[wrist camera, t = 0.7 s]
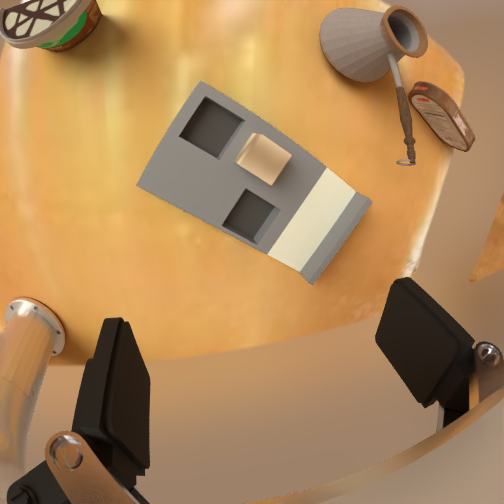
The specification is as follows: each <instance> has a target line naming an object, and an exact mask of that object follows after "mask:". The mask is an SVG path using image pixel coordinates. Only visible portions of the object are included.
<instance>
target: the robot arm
mask: <svg viewBox="0 0 504 504" xmlns="http://www.w3.org/2000/svg"><path fill="white" fill-rule="evenodd" d="M5 320H6V326H5V328H4V330H3V331H2V333H1V335H0V498H2V499H6V500H7V504H152V503H151V502H150V501H149V500H148V499H147V498H146V497H145V496H144V495H143V494H142V493H141V492H140V491H139V490H138V489H137V488H136V487H135V485H136V475H137V476H138V475H139V476H145V469H148V468H149V466H150V455H149V454H150V453H149V409H150V377H149V373H148V371H147V369H146V366H145V364H144V361H143V359H142V356H141V354H140V351H139V348H138V346H137V343H136V340H135V338H134V335H133V332H132V329H131V326H130V324H129V322H124V320H123V319H122V318H121V317H119V318H106V319H104V322H103V325H102V328H101V332H100V335H99V339H98V342H97V346H96V350H95V353H94V357H93V359H89V360H88V361H87V363H86V366H85V370H84V373H83V377H82V382H81V386H80V390H79V395H78V399H77V404H76V409H75V414H74V419H73V425H72V430H71V431H61V432H58V433H56V434H55V435H53V436H52V437H51V438H50V439H49V440H48V442H47V444H46V447H45V459H46V460H45V461H44V462H42V463H41V464H39V465H38V466H36V467H35V468H34V469H32V470H31V471H29V472H28V464H27V447H28V437H29V430H30V426H31V421H32V417H33V413H34V409H35V405H36V401H37V398H38V394H39V391H40V388H41V385H42V381H43V378H44V375H45V372H46V369H47V366H48V363H49V361H50V358H51V357H52V356H56V355H58V354H59V353H60V352H61V351H62V350H63V347H64V345H65V341H66V340H65V332H64V329H63V327H62V324H61V323H60V321H59V320H58V318H57V317H56V316H55V315H54V313H53V312H52V311H50V310H49V309H48V308H47V307H46V306H44V305H43V304H41V303H40V302H38V301H36V300H33V299H30V298H26V297H20V298H16V299H14V300H12V301H11V302H10V303H9V305H8V306H7V308H6V311H5ZM375 340H376V343H377V345H378V346H379V348H380V349H381V350H382V352H383V353H384V355H385V356H386V357H387V359H388V360H389V362H390V363H391V364H392V366H393V367H394V369H395V370H396V371H397V373H398V374H399V376H400V377H401V379H402V380H403V381H404V383H405V384H406V386H407V387H408V389H409V390H410V392H411V393H412V395H413V396H414V397H415V399H416V400H417V402H419V403H422V405H423V407H424V408H427V407H428V406H430V405H432V404H434V403H435V401H436V400H437V401H438V402H439V408H438V419H437V428H436V433H435V434H433V435H432V436H430V437H429V438H427V439H425V440H423V441H422V442H420V443H418V444H416V445H414V446H413V447H411V448H409V449H407V450H405V451H403V452H401V453H399V454H397V455H395V456H393V457H391V458H389V459H387V460H385V461H383V462H381V463H378V464H376V465H374V466H372V467H369V468H367V469H365V470H362V471H360V472H357V473H355V474H352V475H350V476H347V477H344V478H342V479H339V480H336V481H333V482H330V483H327V484H324V485H321V486H318V487H314V488H311V489H308V490H304V491H301V492H297V493H293V494H289V495H285V496H281V497H276V498H271V499H266V500H261V501H256V502H250V503H244V504H504V359H503V355H502V353H501V351H500V350H499V348H498V347H496V346H495V345H494V344H492V343H489V342H486V341H482V342H479V343H478V344H476V346H475V348H474V349H472V345H473V343H474V342H475V340H474V339H473V338H472V337H471V336H470V335H469V334H468V333H467V332H466V331H465V329H464V328H462V326H461V325H459V323H457V321H456V320H455V319H454V318H453V317H452V316H450V314H449V313H447V312H446V311H445V310H444V309H443V308H442V307H441V306H440V305H439V304H438V303H437V302H436V301H435V300H434V299H433V298H432V297H431V296H429V294H427V293H426V292H425V291H424V290H423V289H422V288H421V287H420V286H419V285H418V284H417V283H416V282H414V281H413V280H412V279H411V278H409V277H405V278H400V279H396V280H395V281H394V282H393V284H392V285H391V287H390V291H389V294H388V297H387V301H386V304H385V307H384V311H383V314H382V317H381V320H380V323H379V326H378V329H377V332H376V335H375Z"/></svg>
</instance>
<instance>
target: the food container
mask: <svg viewBox="0 0 504 504" xmlns="http://www.w3.org/2000/svg"><path fill="white" fill-rule="evenodd" d="M101 15H102V13H101V11H100V9H99V6H98V4H97V2H96V0H30V1H28V2H25V3H23V4H20V5H17V6H14V7H12V8H9V9H4V8H0V33H1V35H2V37H3V38H4V39H5V40H6V41H7V42H8V43H9V44H10V45H11V46H13V47H15V48H19V49H27V48H33V47H39V48H42V49H46V50H49V51H56V52H59V51H64V50H68V49H70V48H72V47H74V46H76V45H78V44H79V43H81V42H82V41H83V40H84V39H86V38H87V37H88V36H89V35H90V34H91V32H92V31H93V30H94V29H95V27H96V26H97V24H98V22H99V20H100V18H101Z"/></svg>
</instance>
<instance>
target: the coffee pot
mask: <svg viewBox="0 0 504 504" xmlns="http://www.w3.org/2000/svg"><path fill="white" fill-rule="evenodd" d="M319 35H320V44H321V47H322V50H323V53H324V55H325V56H326V58H327V60H328V61H329V63H330V64H331V65H332V66H333V67H334V68H335V69H336V70H337V71H339V72H340V73H341V74H343V75H344V76H346V77H348V78H350V79H353V80H355V81H360V82H374V81H376V80H378V79H380V78H382V77H383V76H384V75H385V74H386V73H387V72H388V71H389V70H390V69H391V70H392V73H393V77H394V81H395V84H396V92H397V98H398V105H399V112H400V120H401V123H402V126H403V130H404V133H405V136H406V138H405V139H404V143H405V144H406V145H407V149H408V151H407V155H408V159H401V160H398V161H397V164H399V165H403V166H411V165H415V164H416V162H415V151H414V146H413V145H414V143H415V139H414V138H413V137H412V118H411V114H410V110H409V106H408V102H407V98H406V95H405V91H404V88H403V86H402V81H401V77H400V73H399V68H398V64H397V62H398V61H399V60H400V59H401V58H402V57H403V56H404V55H407V56H410V57H416V58H418V57H420V56H422V55H423V54H424V53H425V52H426V50H427V47H428V39H427V34H426V31H425V29H424V26H423V24H422V23H421V21H420V20H419V19H418V17H417V16H416V15H415V14H414V13H413V12H411V11H410V10H408V9H407V8H405V7H402V6H392V7H390V8H389V9H387V11H386V12H385V13H381V12H375V11H369V10H362V9H355V8H340V9H337V10H333V11H332V12H331V13H329V14H328V15H327V16H326V17H325V19H324V20H323V22H322V24H321V29H320V34H319ZM401 161H410V163H413V164H401V163H399V162H401Z"/></svg>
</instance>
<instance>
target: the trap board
mask: <svg viewBox="0 0 504 504" xmlns="http://www.w3.org/2000/svg"><path fill="white" fill-rule="evenodd" d="M252 133H257V134H262V135H264V136H265V137H267V138H268V139H270V140H271V141H273V142H274V143H275V144H277V145H278V146H280V147H281V148H283V149H284V150H285V151H287V152H288V153H290V154H291V155H292V156H291V157H290V159H289V160H288V162H287V163H286V165H285V166H284V168H283V169H282V171H281V172H280V174H279V175H278V177H277V178H276V180H275V181H274V183H273V184H272V185H270V184H268V183H267V182H265V181H263V180H262V179H260V178H259V177H257V176H256V175H254V174H252V173H251V172H249V171H248V170H246V169H244V168H243V167H241V166H240V165H238V164H237V163H236V162H234V160H235V159H236V157H237V156H238V154H239V153H240V151H241V150H242V148H243V147H244V145H245V144H246V142H247V141H248V139H249V138H250V136H251V135H252ZM136 186H138V187H140V188H142V189H144V190H145V191H147V192H149V193H151V194H153V195H155V196H157V197H159V198H161V199H163V200H165V201H166V202H168V203H170V204H172V205H174V206H176V207H178V208H180V209H182V210H184V211H186V212H187V213H189V214H191V215H193V216H195V217H197V218H199V219H201V220H203V221H205V222H206V223H208V224H210V225H212V226H214V227H216V228H218V229H220V230H222V231H223V232H225V233H227V234H229V235H231V236H233V237H235V238H237V239H239V240H240V241H242V242H244V243H246V244H248V245H250V246H252V247H254V248H256V249H257V250H259V251H261V252H263V253H265V254H267V255H269V256H271V257H273V258H274V259H276V260H278V261H280V262H282V263H284V264H286V265H288V266H289V267H291V268H293V269H295V270H297V271H299V272H300V273H301V274H302V276H303V277H304V278H305V280H306V281H307V282H308V283H309V284H311V285H313V284H314V283H315V282H316V281H317V279H318V278H319V277H320V275H321V274H322V273H323V271H324V270H325V269H326V267H327V266H328V264H329V263H330V262H331V260H332V259H333V258H334V256H335V255H336V254H337V252H338V251H339V249H340V248H341V247H342V245H343V244H344V242H345V241H346V240H347V238H348V237H349V235H350V234H351V233H352V231H353V230H354V228H355V227H356V225H357V224H358V222H359V221H360V220H361V218H362V217H363V215H364V214H365V212H366V211H367V209H368V208H369V206H370V205H371V203H372V201H371V200H370V199H369V198H368V197H366V196H364V195H362V194H359V193H357V192H356V191H355V190H353V189H352V188H351V187H350V186H349V185H348V184H346V183H345V182H344V181H343V180H342V179H340V178H339V177H338V176H337V175H336V174H334V173H333V172H332V171H331V170H330V169H328V168H327V167H326V166H325V165H323V164H322V163H321V162H320V161H318V160H317V159H316V158H315V157H313V156H312V155H311V154H309V153H308V152H307V151H306V150H304V149H303V148H302V147H300V146H299V145H298V144H296V143H295V142H294V141H292V140H291V139H289V138H288V137H287V136H285V135H284V134H283V133H281V132H280V131H278V130H277V129H276V128H274V127H273V126H271V125H270V124H268V123H267V122H266V121H264V120H263V119H261V118H260V117H258V116H257V115H255V114H254V113H252V112H251V111H249V110H248V109H246V108H245V107H243V106H242V105H240V104H238V103H237V102H235V101H234V100H232V99H231V98H229V97H227V96H226V95H224V94H222V93H221V92H219V91H217V90H216V89H214V88H212V87H211V86H209V85H207V84H206V83H204V82H202V81H200V82H199V83H198V85H197V86H196V88H195V89H194V90H193V92H192V93H191V95H190V96H189V98H188V99H187V101H186V102H185V104H184V105H183V107H182V108H181V110H180V111H179V113H178V114H177V116H176V117H175V119H174V120H173V122H172V124H171V125H170V127H169V128H168V130H167V132H166V133H165V135H164V137H163V138H162V140H161V142H160V143H159V145H158V147H157V148H156V150H155V152H154V154H153V155H152V157H151V159H150V161H149V162H148V164H147V166H146V168H145V170H144V172H143V173H142V175H141V177H140V179H139V181H138V183H137V185H136Z"/></svg>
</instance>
